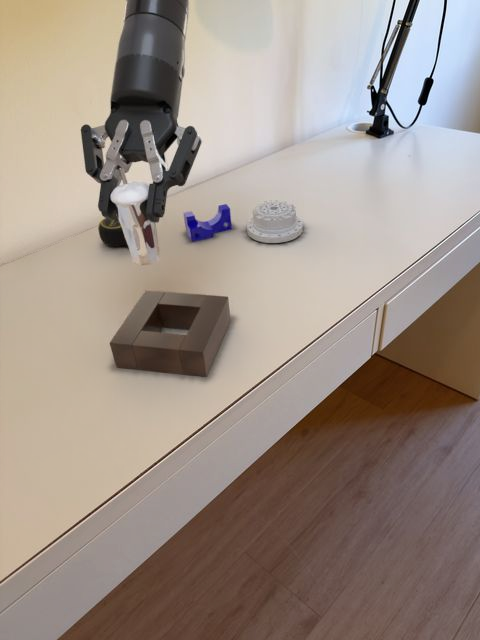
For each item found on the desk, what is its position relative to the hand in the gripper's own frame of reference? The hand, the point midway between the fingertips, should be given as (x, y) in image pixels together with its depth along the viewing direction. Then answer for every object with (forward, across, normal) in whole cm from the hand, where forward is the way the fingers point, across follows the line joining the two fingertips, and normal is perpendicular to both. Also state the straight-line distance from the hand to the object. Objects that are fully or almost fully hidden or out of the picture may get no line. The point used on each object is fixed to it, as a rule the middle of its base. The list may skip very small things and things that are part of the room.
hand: (130, 218), depth 58 cm
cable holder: (-10, -2, +36) cm, 38 cm away
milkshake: (+3, 0, +6) cm, 6 cm away
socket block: (+12, +2, +14) cm, 18 cm away
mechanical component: (-11, +9, +38) cm, 40 cm away
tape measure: (-7, -17, +33) cm, 38 cm away
